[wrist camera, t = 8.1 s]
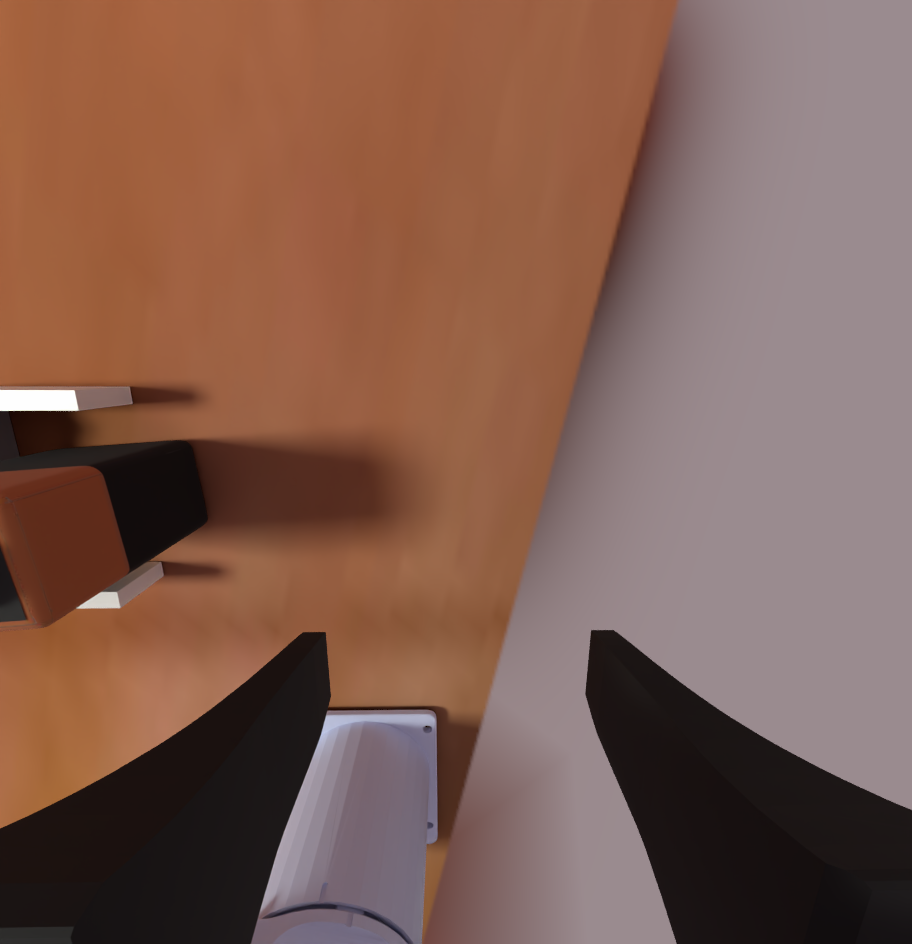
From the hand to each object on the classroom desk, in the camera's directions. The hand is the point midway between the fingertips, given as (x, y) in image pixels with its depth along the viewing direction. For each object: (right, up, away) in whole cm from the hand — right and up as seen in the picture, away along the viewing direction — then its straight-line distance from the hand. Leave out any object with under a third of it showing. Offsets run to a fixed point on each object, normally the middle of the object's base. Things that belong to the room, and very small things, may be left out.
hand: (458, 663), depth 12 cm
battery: (-16, +5, +10) cm, 19 cm away
